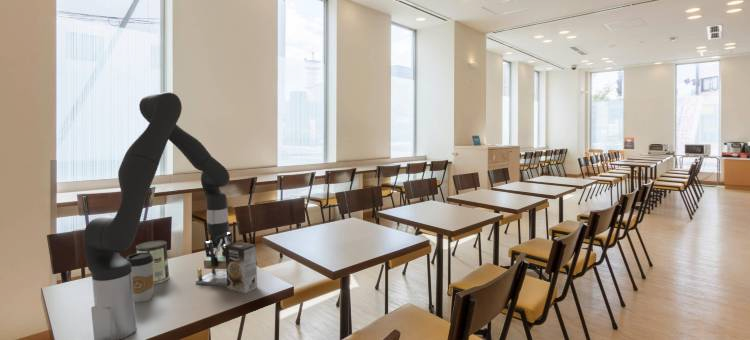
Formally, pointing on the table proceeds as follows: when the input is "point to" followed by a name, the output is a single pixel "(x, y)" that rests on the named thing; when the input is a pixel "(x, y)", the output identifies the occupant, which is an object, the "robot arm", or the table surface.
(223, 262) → the mint green block
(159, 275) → the coffee can
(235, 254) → the coffee box
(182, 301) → the table surface
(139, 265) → the coffee cup
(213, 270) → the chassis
